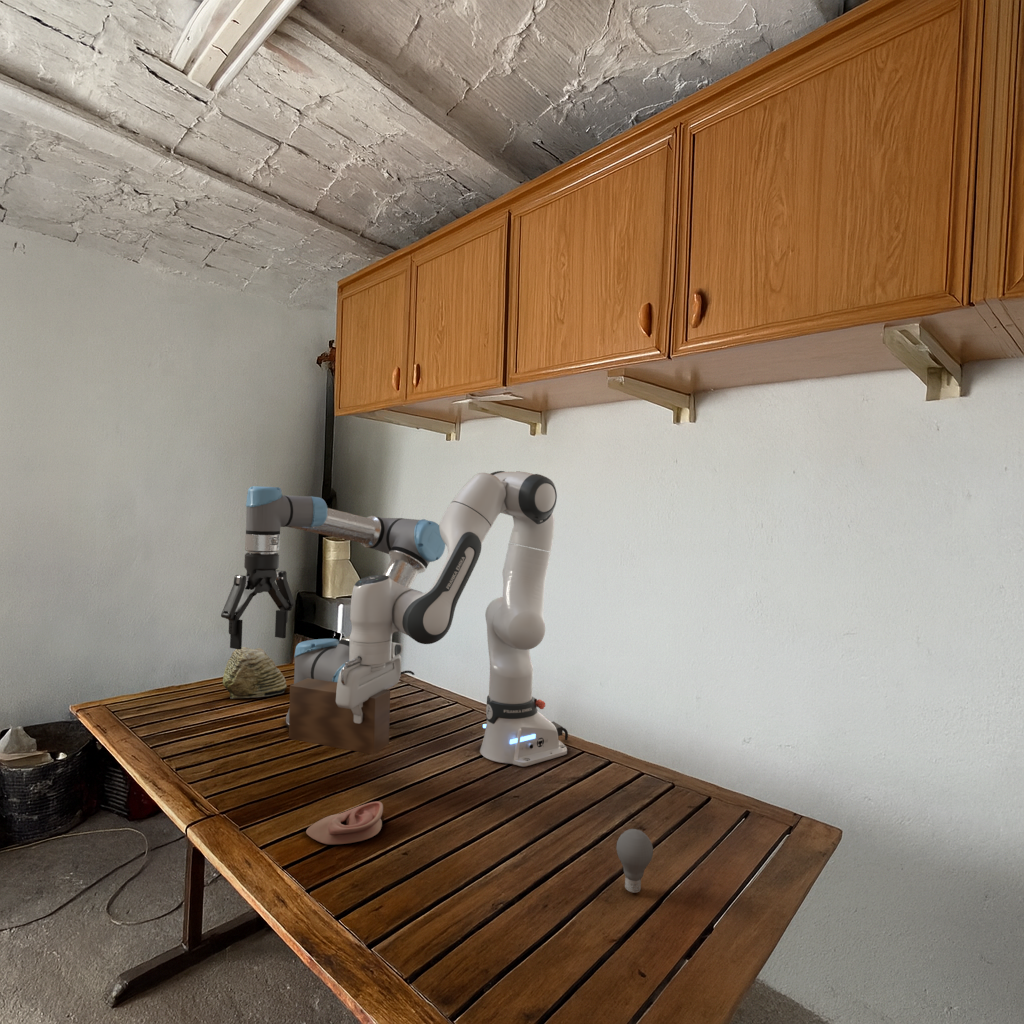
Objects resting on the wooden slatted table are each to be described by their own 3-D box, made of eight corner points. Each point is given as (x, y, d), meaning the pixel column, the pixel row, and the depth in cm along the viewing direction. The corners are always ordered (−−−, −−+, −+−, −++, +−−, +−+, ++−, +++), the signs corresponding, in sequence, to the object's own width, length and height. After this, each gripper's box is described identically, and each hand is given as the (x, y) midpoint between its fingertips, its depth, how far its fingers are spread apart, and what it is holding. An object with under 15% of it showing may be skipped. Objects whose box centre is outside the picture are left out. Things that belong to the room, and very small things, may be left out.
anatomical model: (298, 818, 116) (328, 791, 128) (297, 839, 116) (327, 810, 128) (365, 829, 114) (390, 800, 125) (364, 851, 114) (389, 820, 125)
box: (288, 738, 138) (289, 685, 138) (306, 729, 144) (307, 678, 144) (373, 754, 131) (375, 698, 131) (389, 744, 137) (390, 690, 137)
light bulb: (610, 879, 108) (613, 822, 108) (644, 879, 109) (647, 822, 109) (619, 902, 102) (622, 840, 102) (655, 901, 103) (658, 840, 103)
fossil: (218, 695, 195) (220, 647, 195) (278, 685, 208) (279, 640, 207) (228, 703, 189) (230, 653, 188) (289, 692, 201) (290, 645, 201)
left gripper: (230, 557, 135) (227, 655, 135) (311, 550, 158) (308, 635, 158) (205, 554, 138) (202, 651, 138) (288, 548, 161) (285, 631, 161)
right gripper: (356, 665, 124) (354, 735, 124) (406, 643, 143) (405, 704, 144) (328, 661, 126) (327, 730, 126) (382, 640, 145) (380, 700, 146)
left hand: (258, 642), depth 148 cm, fingers open, 13 cm apart
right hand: (369, 716), depth 135 cm, fingers closed on box, 6 cm apart
